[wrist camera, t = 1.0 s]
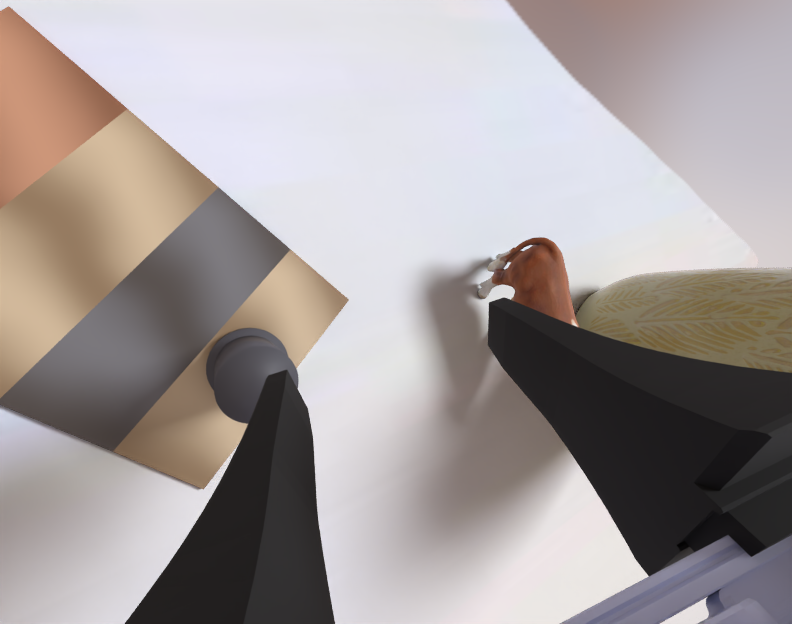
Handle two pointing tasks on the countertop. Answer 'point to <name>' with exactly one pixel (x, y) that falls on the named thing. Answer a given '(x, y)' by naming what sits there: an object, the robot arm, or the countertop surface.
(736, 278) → the vase
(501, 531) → the countertop surface
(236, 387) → the dark grey rounded knob
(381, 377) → the countertop surface
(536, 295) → the bull figurine
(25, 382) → the track board
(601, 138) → the countertop surface
